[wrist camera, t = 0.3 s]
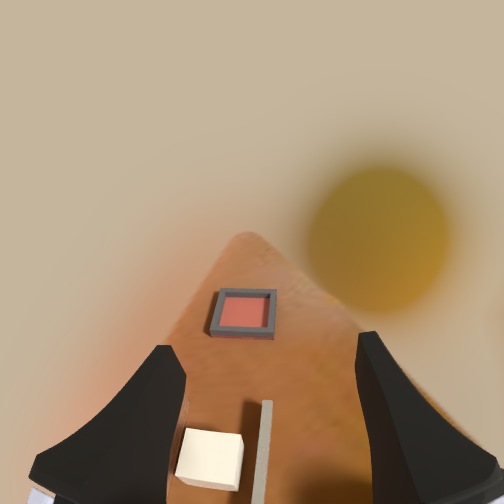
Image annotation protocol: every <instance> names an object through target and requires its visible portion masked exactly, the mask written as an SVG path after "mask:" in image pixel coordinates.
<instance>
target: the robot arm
mask: <svg viewBox="0 0 504 504" xmlns="http://www.w3.org/2000/svg"><path fill="white" fill-rule="evenodd" d="M355 373H356V381H357V389H358V393H359V398H360V402H361V406H362V411H363V415H364V419H365V424H366V428H367V433H368V437H369V444H370V452H371V465H372V484H373V504H482V500H484V499H485V494H484V491H485V490H487V489H489V488H490V487H492V486H494V485H495V484H497V483H498V482H500V481H501V480H502V474H501V470H500V466H499V464H498V461H497V459H496V457H495V456H493V455H492V454H490V453H488V452H487V451H485V450H484V449H482V448H481V447H479V446H478V445H476V444H475V443H473V442H472V441H471V440H469V439H468V438H467V437H465V436H464V435H463V434H462V433H461V432H459V431H458V430H457V429H456V428H455V427H454V426H452V425H451V424H450V423H449V422H448V421H447V420H445V419H444V418H443V417H442V416H441V415H440V414H439V413H438V412H437V411H436V410H435V409H434V408H433V407H432V406H431V405H430V404H429V402H428V401H427V400H426V399H425V398H424V397H423V396H422V395H421V393H420V392H419V391H418V390H417V389H416V387H415V386H414V385H413V384H412V383H411V381H410V380H409V379H408V377H407V376H406V375H405V373H404V372H403V371H402V369H401V368H400V367H399V365H398V364H397V363H396V361H395V360H394V358H393V357H392V355H391V354H390V352H389V351H388V349H387V348H386V346H385V345H384V343H383V342H382V340H381V338H380V337H379V335H378V334H377V332H375V331H370V332H363V333H359V337H358V345H357V353H356V360H355ZM185 384H186V374H185V372H184V370H183V368H182V366H181V364H180V362H179V360H178V359H177V357H176V355H175V353H174V351H173V349H172V347H171V345H157V346H156V347H155V349H154V350H153V351H152V352H151V353H150V355H149V356H148V357H147V358H146V360H145V361H144V362H143V364H142V365H141V366H140V367H139V369H138V370H137V371H136V372H135V374H134V375H133V376H132V377H131V378H130V380H129V381H128V382H127V383H126V384H125V386H124V387H123V388H122V389H121V391H119V392H118V394H117V395H116V396H115V397H114V398H113V399H112V400H111V401H110V402H109V404H107V406H106V407H105V408H103V410H101V411H100V412H99V413H98V414H97V415H96V416H95V417H94V418H93V419H92V420H90V421H89V422H88V423H87V424H85V425H84V426H83V427H82V428H80V429H79V430H78V431H76V432H75V433H74V434H72V435H71V436H69V437H68V438H67V439H65V440H63V441H62V442H60V443H58V444H57V445H55V446H53V447H51V448H49V449H48V450H46V451H44V452H42V453H40V454H38V455H37V456H36V458H35V461H34V463H33V466H32V468H31V471H30V474H29V476H28V477H29V479H31V480H32V481H34V482H35V483H37V484H39V485H40V486H42V487H44V488H46V489H47V490H49V491H51V492H53V493H55V494H56V496H55V498H53V497H51V496H49V495H47V494H45V493H44V492H42V491H40V490H38V489H37V488H35V487H32V489H31V492H30V495H29V497H28V500H27V504H166V499H167V478H168V467H169V459H170V451H171V446H172V441H173V437H174V433H175V429H176V426H177V422H178V418H179V414H180V410H181V407H182V403H183V399H184V392H185ZM487 504H504V495H503V496H501V497H499V498H497V499H495V500H493V501H491V502H489V503H487Z"/></svg>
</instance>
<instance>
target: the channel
mask: <svg viewBox="0 0 504 504" xmlns="http://www.w3.org/2000/svg"><path fill="white" fill-rule="evenodd" d="M189 406H190V402H189V400H188V398H187V396H186V394H185V393H184V399H183V403H182V407H181V410H180V414H179V418H178V422H177V426H176V429H175V433H174V437H173V441H172V446H171V451H170V459H169V467H168V478H167V498H168V493H169V489H170V485H171V480H172V476H173V472H174V468H175V463H176V459H177V455H178V451H179V447H180V442H181V438H182V434H183V430H184V426H185V422H186V418H187V414H188V410H189ZM272 418H273V400H263V402H262V412H261V422H260V432H259V441H258V450H257V459H256V468H255V477H254V485H253V493H252V501H251V504H265V494H266V485H267V475H268V464H269V453H270V442H271V430H272ZM166 502H167V499H166Z"/></svg>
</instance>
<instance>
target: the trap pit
mask: <svg viewBox="0 0 504 504" xmlns="http://www.w3.org/2000/svg"><path fill="white" fill-rule="evenodd" d="M276 298H277V289H236V288H221V289H220V292H219V296H218V300H217V303H216V307H215V311H214V314H213V318H212V322H211V326H210V329H209V330H210V334H211V337H222V338H241V339H267V340H274V330H275V314H276Z"/></svg>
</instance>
